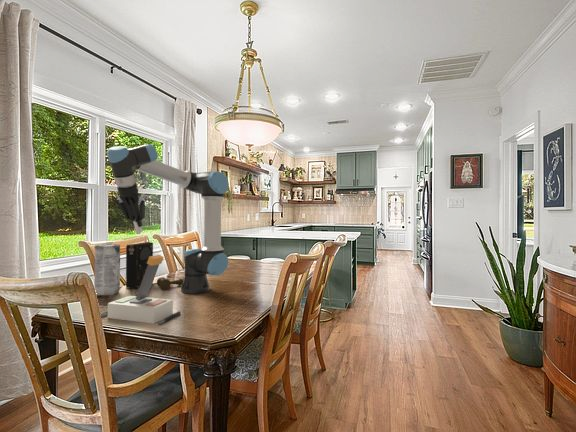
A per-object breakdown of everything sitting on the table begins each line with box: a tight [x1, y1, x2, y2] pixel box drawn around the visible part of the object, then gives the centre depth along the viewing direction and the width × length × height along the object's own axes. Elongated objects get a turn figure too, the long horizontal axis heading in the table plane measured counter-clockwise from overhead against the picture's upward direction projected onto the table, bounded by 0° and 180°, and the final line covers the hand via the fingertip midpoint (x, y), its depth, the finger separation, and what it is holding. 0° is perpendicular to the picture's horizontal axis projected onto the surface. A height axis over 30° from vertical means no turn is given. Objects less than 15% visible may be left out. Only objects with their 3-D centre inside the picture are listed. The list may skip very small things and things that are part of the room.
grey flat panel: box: [100, 310, 181, 326], centre depth 131 cm, size 29×13×1 cm, turn 75°
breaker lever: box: [136, 254, 164, 301], centre depth 129 cm, size 2×6×19 cm, turn 165°
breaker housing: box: [107, 295, 174, 324], centre depth 130 cm, size 22×12×7 cm, turn 75°
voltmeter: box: [125, 241, 154, 290], centre depth 182 cm, size 16×9×25 cm, turn 168°
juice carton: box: [94, 241, 121, 296], centre depth 164 cm, size 9×10×27 cm
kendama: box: [152, 276, 184, 291], centre depth 180 cm, size 6×10×20 cm
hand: (139, 232), depth 142 cm, fingers closed
